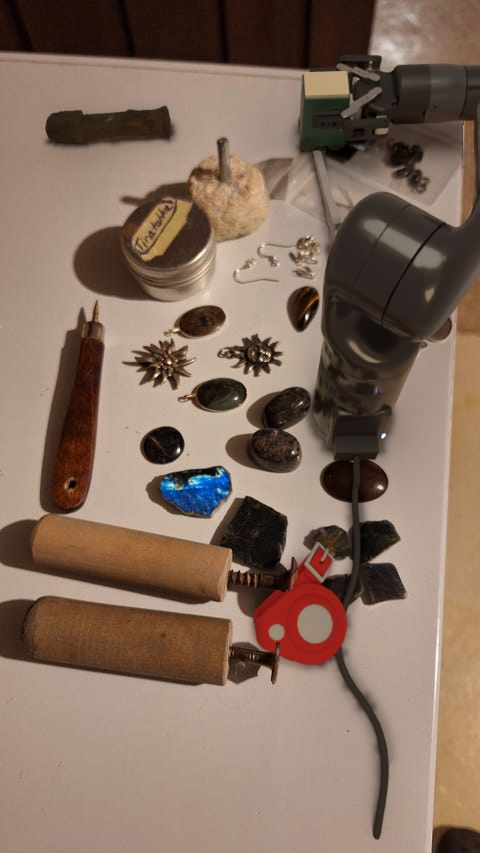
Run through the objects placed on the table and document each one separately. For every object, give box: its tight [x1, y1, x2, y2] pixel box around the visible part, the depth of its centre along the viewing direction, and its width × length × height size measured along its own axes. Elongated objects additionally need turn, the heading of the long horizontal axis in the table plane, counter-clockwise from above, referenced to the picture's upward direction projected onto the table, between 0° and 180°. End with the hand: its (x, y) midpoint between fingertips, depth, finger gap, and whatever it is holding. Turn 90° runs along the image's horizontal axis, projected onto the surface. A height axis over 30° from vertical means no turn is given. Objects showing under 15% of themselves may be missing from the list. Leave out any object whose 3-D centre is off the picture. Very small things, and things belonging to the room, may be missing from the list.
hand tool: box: [44, 105, 172, 144], centre depth 96 cm, size 19×4×5 cm, turn 91°
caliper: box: [312, 150, 343, 248], centre depth 88 cm, size 20×1×6 cm, turn 5°
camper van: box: [297, 71, 351, 153], centre depth 92 cm, size 5×7×10 cm
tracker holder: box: [252, 541, 348, 666], centre depth 67 cm, size 12×4×10 cm
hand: (310, 98), depth 89 cm, fingers open, 8 cm apart
